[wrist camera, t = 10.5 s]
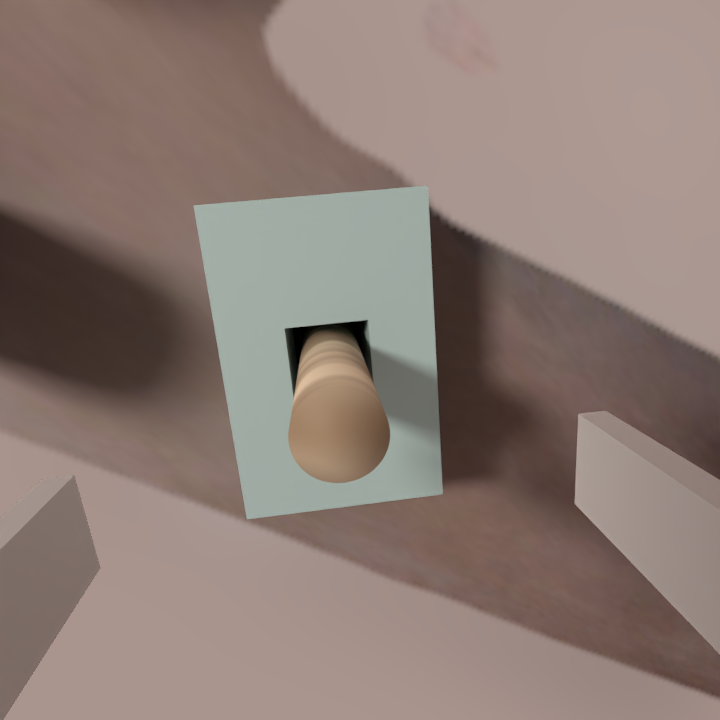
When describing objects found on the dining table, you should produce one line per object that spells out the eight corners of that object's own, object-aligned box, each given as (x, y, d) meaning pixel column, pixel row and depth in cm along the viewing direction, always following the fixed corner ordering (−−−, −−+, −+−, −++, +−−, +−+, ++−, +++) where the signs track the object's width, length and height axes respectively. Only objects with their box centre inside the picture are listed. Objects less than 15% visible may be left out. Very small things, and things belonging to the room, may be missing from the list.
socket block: (218, 212, 29) (193, 205, 23) (406, 196, 30) (427, 185, 24) (259, 471, 34) (246, 519, 28) (421, 451, 34) (442, 494, 29)
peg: (299, 319, 31) (281, 394, 16) (353, 314, 32) (386, 382, 16) (306, 370, 32) (295, 488, 17) (357, 365, 32) (393, 476, 17)
